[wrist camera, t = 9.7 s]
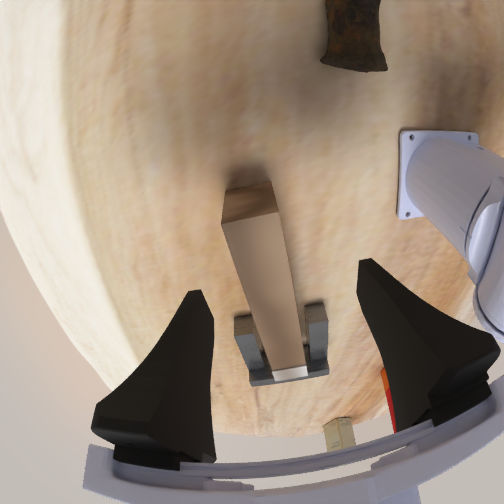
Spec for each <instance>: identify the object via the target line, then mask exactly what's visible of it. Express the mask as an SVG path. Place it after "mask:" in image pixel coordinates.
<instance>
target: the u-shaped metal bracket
mask: <svg viewBox="0 0 504 504" xmlns="http://www.w3.org/2000/svg"><path fill="white" fill-rule="evenodd" d="M305 318H306V330H307V344H308V345H306V346H303V349H304V355H305V361H306V366H307V373H308V376H304V377H299V378H293V379H288V380H282V381H275V379H274V376H273V373H272V368H271V365H270V363H269V360H268V357H267V355H266V352H264V350H263V347H262V344H261V340H260V337H259V334H258V330H257V327H256V324H255V321H254V319H253V316H252V315H249V316H243V317H236V318H234V337H235V340H236V342H237V344H238V347H239V349H240V351H241V354H242V356H243V358H244V361H245V363H246V365H247V367H248V370H249V382H250V384H251V386H252V387H253V386H262V385H270V384H277V383H284V382H291V381H297V380H303V379H308V378H314V377H319V376H324V375H329V365H328V360H327V348H328V318H327V315H326V311H325V308H324V304H323V303H319V304H314V305H309V306H305Z"/></svg>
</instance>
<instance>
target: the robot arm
mask: <svg viewBox="0 0 504 504" xmlns="http://www.w3.org/2000/svg"><path fill="white" fill-rule="evenodd" d="M411 134H412V138H411V139H410V138H409V137H410V135H411ZM468 136H469V138H468ZM407 212H408V214H407V215H406V213H407ZM397 216H398V218H399V219H401V220H404V219H410V218H416V217H422V216H426V217H427V218H428V219H429V220H430V222H431V223H432V224H433V225H434V226H435V227H436V228H437V229H438V230H439V231H440V232H441V233H442V234H443V235H444V236H445V237H446V238H447V239H448V241H449V242H450V243H451V244H452V245H453V246H454V247H455V248H456V250H457V251H458V252H459V253H460V254H461V255H462V257H463V258H464V259H465V260H466V261H467V262H468V264H469V272H468V276H469V277H470V279H471V280H472V281H473V283H474V284H475V285H476V287H475V290H474V293H473V307H474V310H475V314H476V316H477V318H478V320H479V322H480V323H481V325H482V326H483V327H484V329H485V330H486V331H487V332H488V333H487V332H485V331H482V330H479V329H476V328H473V327H471V326H469V325H467V324H464V323H462V322H460V321H458V320H456V319H454V318H452V317H450V316H448V315H446V314H445V313H443V312H441V311H439V310H438V309H436V308H434V307H433V306H431V305H430V304H428V303H427V302H425V301H424V300H422V299H421V298H419V297H418V296H417V295H415V294H414V293H413V292H411V291H410V290H409V289H407V288H406V287H405V286H404V285H402V284H401V283H400V282H399V281H398V280H396V279H395V278H394V277H393V276H392V275H390V274H389V273H388V272H387V271H386V270H385V269H383V268H382V267H381V266H380V265H379V264H378V263H376V262H375V261H374V260H373V259H372V258H369V259H364V260H359V266H358V280H357V291H356V293H357V296H358V300H359V303H360V306H361V309H362V312H363V314H364V317H365V319H366V321H367V323H368V326H369V328H370V330H371V332H372V335H373V337H374V339H375V341H376V344H377V346H378V348H379V351H380V354H381V357H382V360H383V364H384V367H385V371H386V375H387V379H388V383H389V387H390V392H391V398H392V403H393V409H394V416H395V424H396V432H397V433H394V434H392V435H389V436H386V437H383V438H380V439H377V440H373V441H370V442H366V443H363V444H360V445H356V446H352V447H348V448H344V449H340V450H335V451H331V452H326V453H321V454H316V455H311V456H304V457H298V458H291V459H283V460H274V461H264V462H249V463H214V462H215V461H216V459H217V458H216V452H215V445H214V438H213V427H212V416H211V396H210V381H211V369H212V358H213V348H214V318H213V316H212V313H211V311H210V309H209V307H208V304H207V302H206V300H205V298H204V295H203V293H202V291H201V289H200V290H193V291H188V293H187V294H186V296H185V298H184V299H183V301H182V303H181V305H180V306H179V308H178V310H177V312H176V313H175V315H174V317H173V318H172V320H171V322H170V323H169V325H168V327H167V328H166V330H165V332H164V333H163V335H162V336H161V338H160V339H159V341H158V342H157V344H156V345H155V346H154V348H153V349H152V351H151V352H150V353H149V354H148V356H147V357H146V358H145V359H144V361H143V362H142V363H141V364H140V365H139V366H138V367H137V368H136V370H135V371H134V372H133V373H132V374H131V375H130V376H129V377H128V378H127V379H126V380H125V381H124V382H123V383H122V384H121V385H120V386H118V387H117V388H116V389H115V390H114V391H113V392H111V393H110V394H109V395H108V396H106V397H105V398H104V399H103V400H101V401H100V402H98V403H97V404H96V408H95V412H94V416H93V420H92V425H91V430H92V432H94V433H95V434H96V435H97V436H99V437H101V438H103V439H105V440H106V441H108V442H110V443H112V444H115V448H114V450H113V449H109V448H106V447H101V446H97V445H93V444H90V445H89V448H88V454H87V460H86V467H85V473H84V480H83V481H84V482H83V488H84V489H86V490H88V491H91V492H94V493H97V494H99V495H102V496H105V497H108V498H111V499H114V500H117V501H120V502H123V503H127V504H421V502H420V496H419V492H418V485H420V484H422V483H424V482H426V481H428V480H430V479H432V478H434V477H436V476H438V475H440V474H442V473H443V472H445V471H447V470H449V469H450V468H452V467H454V466H456V465H457V464H459V463H461V462H462V461H464V460H466V459H467V458H469V457H470V456H472V455H473V454H475V453H476V452H478V451H479V450H480V449H482V448H484V447H485V446H486V445H488V444H489V443H490V442H492V441H493V440H494V439H496V438H497V437H498V436H500V435H501V434H502V433H503V432H504V375H502V376H501V377H500V378H498V379H497V380H495V381H493V382H492V383H491V384H490V385H488V383H487V380H488V379H489V376H488V374H487V371H488V369H489V368H490V367H491V366H492V365H493V363H494V362H495V361H496V360H497V358H498V357H499V355H500V352H501V350H500V347H499V346H498V344H497V342H496V340H498V341H500V342H502V343H504V158H503V157H501V156H499V155H497V154H496V153H494V152H492V151H490V150H488V149H486V148H485V147H483V146H481V145H479V136H478V134H477V133H475V132H462V131H433V130H412V131H402V132H401V134H400V171H399V194H398V208H397ZM495 339H496V340H495ZM404 446H406V447H405V448H402V449H400V450H398V451H396V452H393V453H391V454H388V455H386V456H383V457H381V458H380V459H379V461H377V462H375V463H373V464H372V465H371V470H370V471H366V472H363V473H359V474H355V475H351V476H347V477H343V478H338V479H333V480H329V481H323V482H318V483H312V484H306V485H299V486H292V487H284V488H275V489H264V490H254V486H253V485H250V484H243V483H241V482H233V481H215V480H213V479H248V478H265V477H276V476H286V475H293V474H301V473H307V472H313V471H319V470H324V469H329V468H333V467H338V466H342V465H346V464H350V463H354V462H358V461H361V460H365V459H368V458H372V457H375V456H378V455H381V454H384V453H387V452H390V451H393V450H396V449H399V448H401V447H404Z"/></svg>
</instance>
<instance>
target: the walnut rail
mask: <svg viewBox="0 0 504 504" xmlns="http://www.w3.org/2000/svg"><path fill="white" fill-rule="evenodd" d="M221 226H222V229H223V232H224V235H225V238H226V241H227V244H228V247H229V250H230V253H231V256H232V259H233V261H234V264H235V267H236V270H237V273H238V276H239V279H240V282H241V285H242V287H243V290H244V293H245V296H246V299H247V302H248V305H249V307H250V310H251V313H252V316H253V319H254V321H255V324H256V327H257V330H258V333H259V335H260V338H261V341H262V344H263V346H264V349H265V352H266V355H267V357H268V360H269V363H270V365H271V368H272V373H273V376H274V379H275V381H282V380H288V379H293V378H299V377H304V376H308V373H307V366H306V361H305V355H304V349H303V343H302V337H301V331H300V325H299V319H298V313H297V307H296V301H295V295H294V289H293V284H292V278H291V273H290V267H289V262H288V256H287V251H286V246H285V241H284V235H283V230H282V225H281V220H280V215H279V211H278V207H277V203H276V199H275V195H274V191H273V188H272V184H271V181H270V182H265V183H261V184H256V185H251V186H247V187H243V188H238V189H234V190H230V191H226V192H225V198H224V205H223V213H222V220H221Z"/></svg>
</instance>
